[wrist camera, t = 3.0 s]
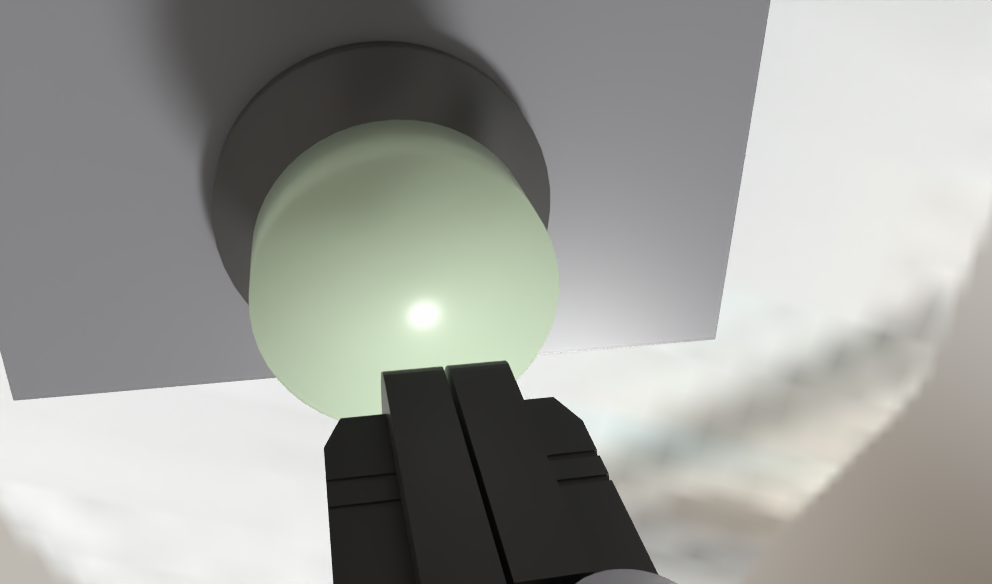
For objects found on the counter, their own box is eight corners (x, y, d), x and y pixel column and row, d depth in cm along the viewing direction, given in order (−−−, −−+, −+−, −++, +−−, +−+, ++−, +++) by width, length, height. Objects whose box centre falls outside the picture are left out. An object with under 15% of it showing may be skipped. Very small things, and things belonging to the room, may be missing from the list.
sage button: (236, 125, 13) (232, 162, 12) (541, 113, 14) (568, 148, 13) (265, 386, 16) (264, 443, 14) (528, 363, 17) (550, 415, 15)
